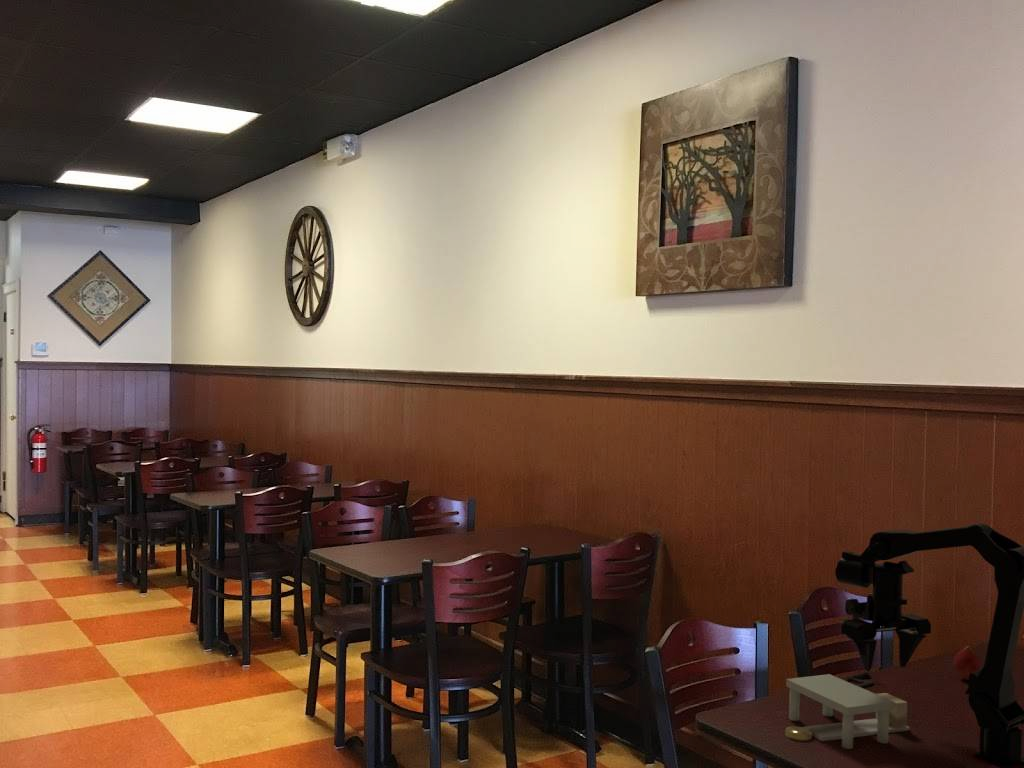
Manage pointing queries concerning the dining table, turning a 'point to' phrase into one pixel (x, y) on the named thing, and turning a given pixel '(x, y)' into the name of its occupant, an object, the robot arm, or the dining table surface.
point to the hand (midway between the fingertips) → (885, 668)
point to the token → (798, 733)
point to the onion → (966, 662)
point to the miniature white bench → (840, 703)
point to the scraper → (866, 723)
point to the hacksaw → (863, 682)
